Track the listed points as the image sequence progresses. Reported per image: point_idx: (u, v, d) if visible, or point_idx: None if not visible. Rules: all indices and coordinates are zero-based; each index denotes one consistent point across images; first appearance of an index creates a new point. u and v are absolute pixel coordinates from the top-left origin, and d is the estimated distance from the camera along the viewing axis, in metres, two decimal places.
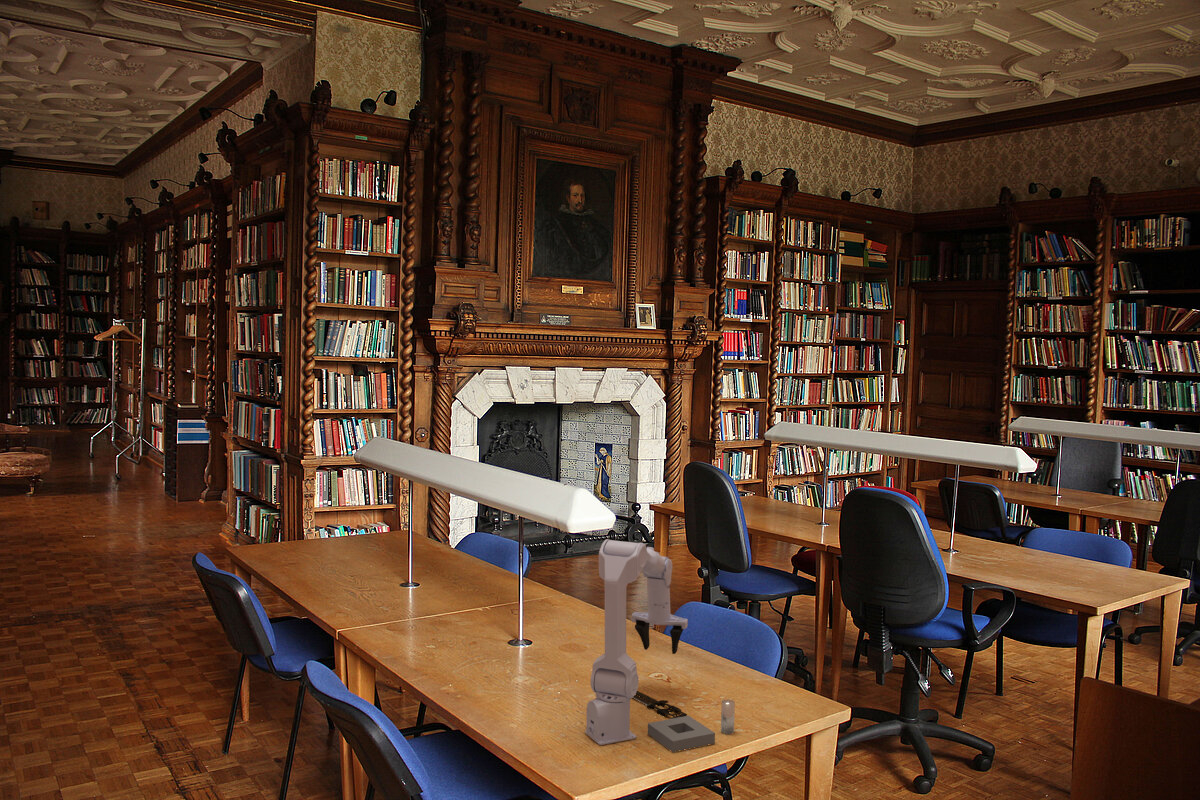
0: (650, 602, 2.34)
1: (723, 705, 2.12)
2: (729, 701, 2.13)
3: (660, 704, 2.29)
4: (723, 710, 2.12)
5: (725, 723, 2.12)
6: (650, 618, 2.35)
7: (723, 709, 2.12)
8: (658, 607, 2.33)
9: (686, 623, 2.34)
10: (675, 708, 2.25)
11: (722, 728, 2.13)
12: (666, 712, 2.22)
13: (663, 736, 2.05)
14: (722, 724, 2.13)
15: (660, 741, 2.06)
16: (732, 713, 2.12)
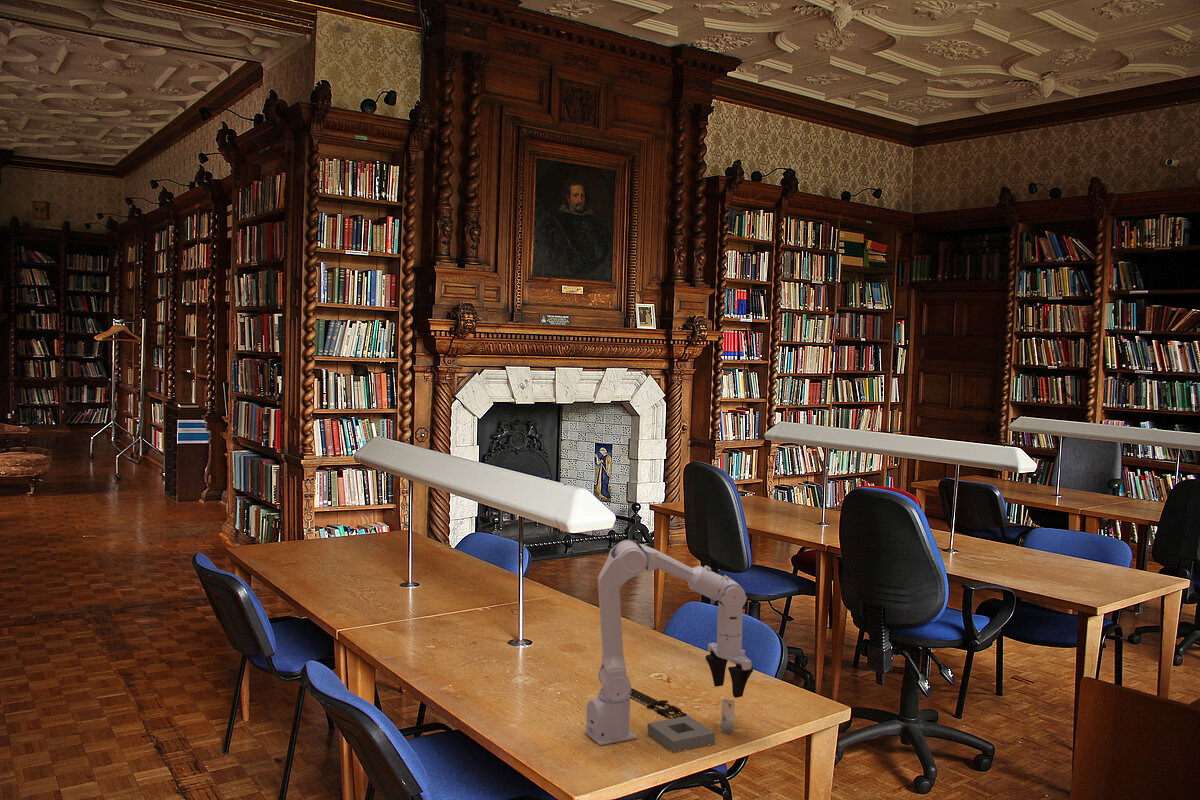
0: None
1: (723, 705, 2.12)
2: (729, 701, 2.13)
3: (660, 704, 2.29)
4: (723, 710, 2.12)
5: (725, 723, 2.12)
6: (716, 649, 2.13)
7: (723, 709, 2.12)
8: (721, 637, 2.11)
9: (747, 664, 2.06)
10: (675, 708, 2.25)
11: (722, 728, 2.13)
12: (666, 712, 2.22)
13: (663, 736, 2.05)
14: (722, 724, 2.13)
15: (660, 741, 2.06)
16: (732, 713, 2.12)
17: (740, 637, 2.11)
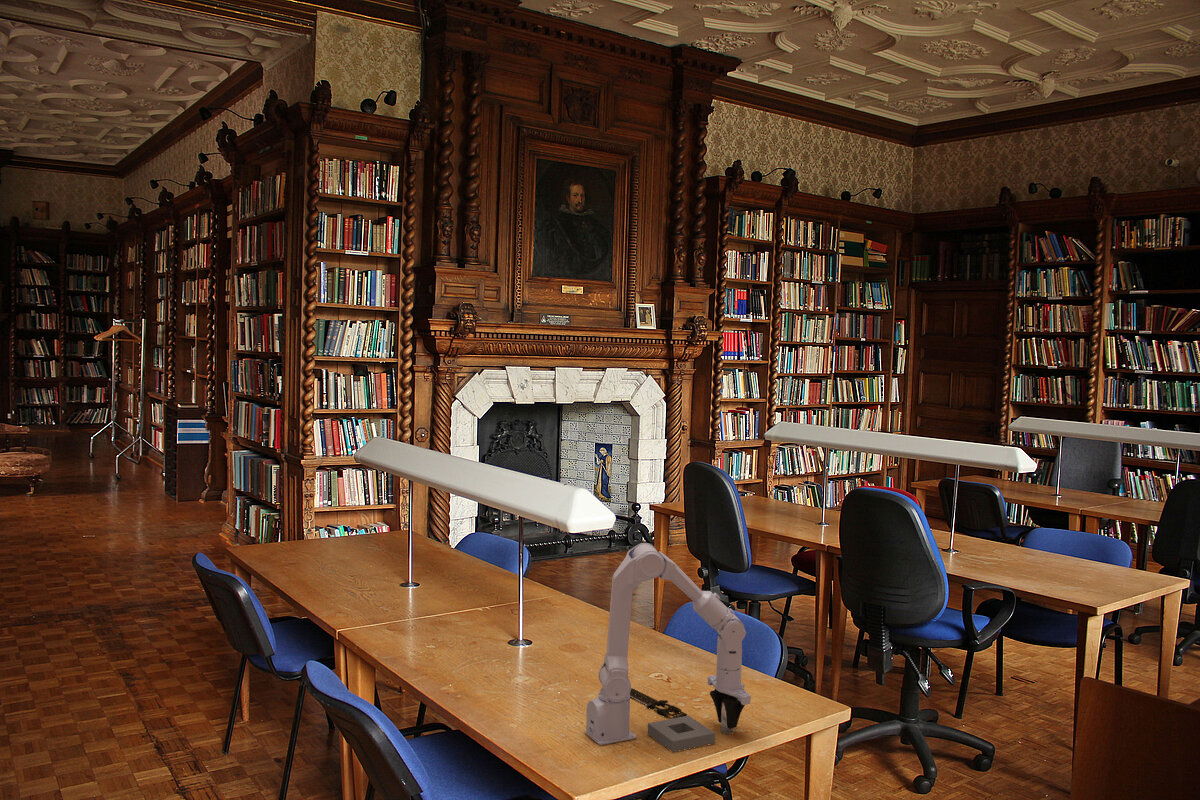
0: None
1: (723, 705, 2.12)
2: None
3: (660, 704, 2.29)
4: (723, 710, 2.12)
5: (725, 723, 2.12)
6: (716, 683, 2.13)
7: (723, 709, 2.12)
8: (721, 671, 2.11)
9: (746, 699, 2.06)
10: (675, 708, 2.25)
11: (722, 728, 2.13)
12: (666, 712, 2.22)
13: (663, 736, 2.05)
14: (722, 724, 2.13)
15: (660, 741, 2.06)
16: None
17: (739, 671, 2.11)
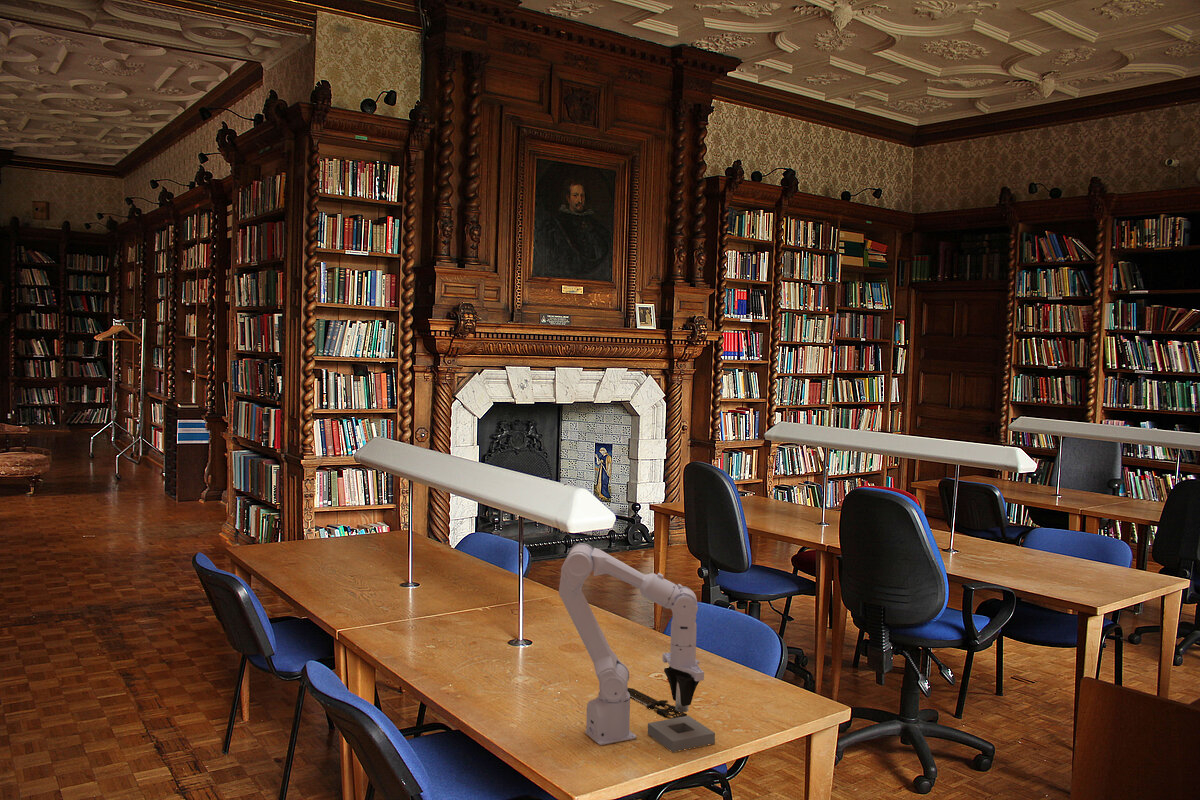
0: None
1: None
2: None
3: (660, 704, 2.29)
4: (678, 687, 2.08)
5: (680, 700, 2.07)
6: (670, 659, 2.09)
7: (678, 686, 2.08)
8: (674, 647, 2.06)
9: (700, 675, 2.02)
10: None
11: (676, 706, 2.08)
12: (666, 712, 2.22)
13: (663, 736, 2.05)
14: (676, 702, 2.08)
15: (660, 741, 2.06)
16: None
17: (694, 647, 2.06)
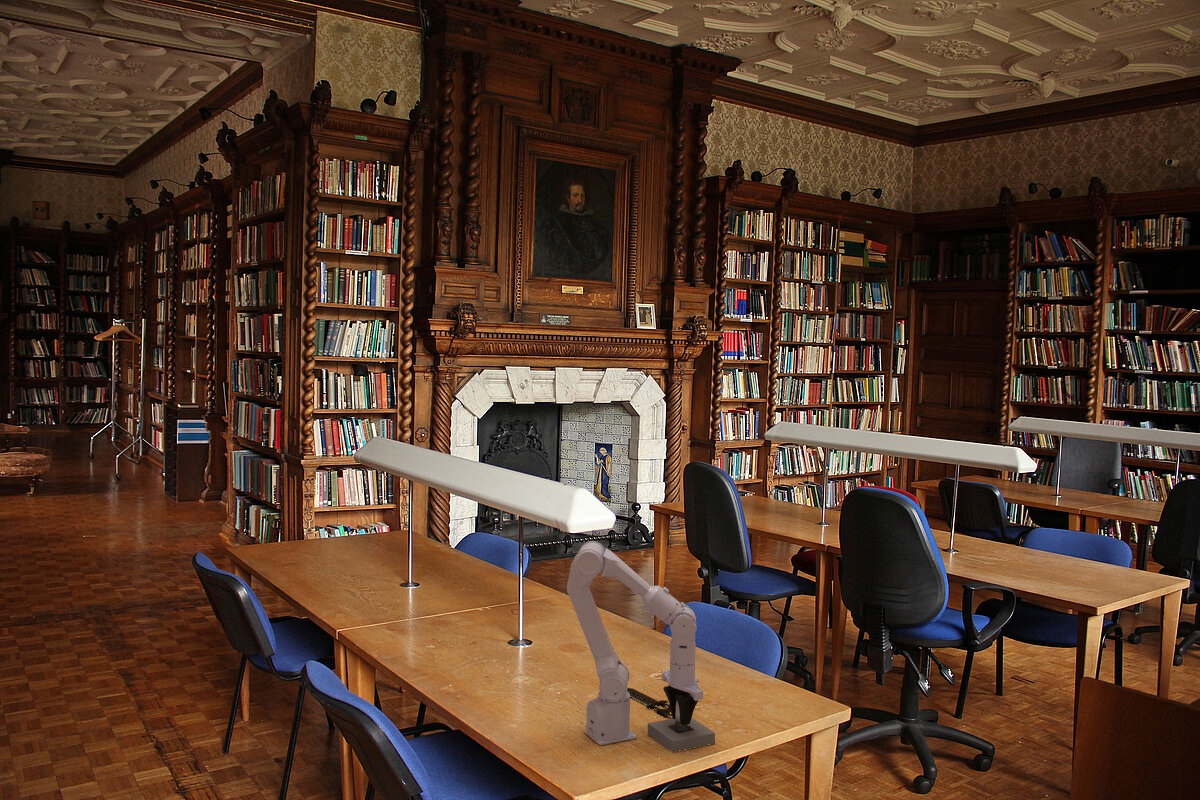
0: None
1: None
2: None
3: (660, 704, 2.29)
4: (677, 706, 2.08)
5: (679, 719, 2.07)
6: (669, 678, 2.09)
7: (677, 705, 2.08)
8: (674, 666, 2.06)
9: (699, 695, 2.02)
10: None
11: (676, 724, 2.08)
12: (666, 712, 2.22)
13: (663, 736, 2.05)
14: (676, 720, 2.08)
15: (660, 741, 2.06)
16: None
17: (693, 666, 2.06)
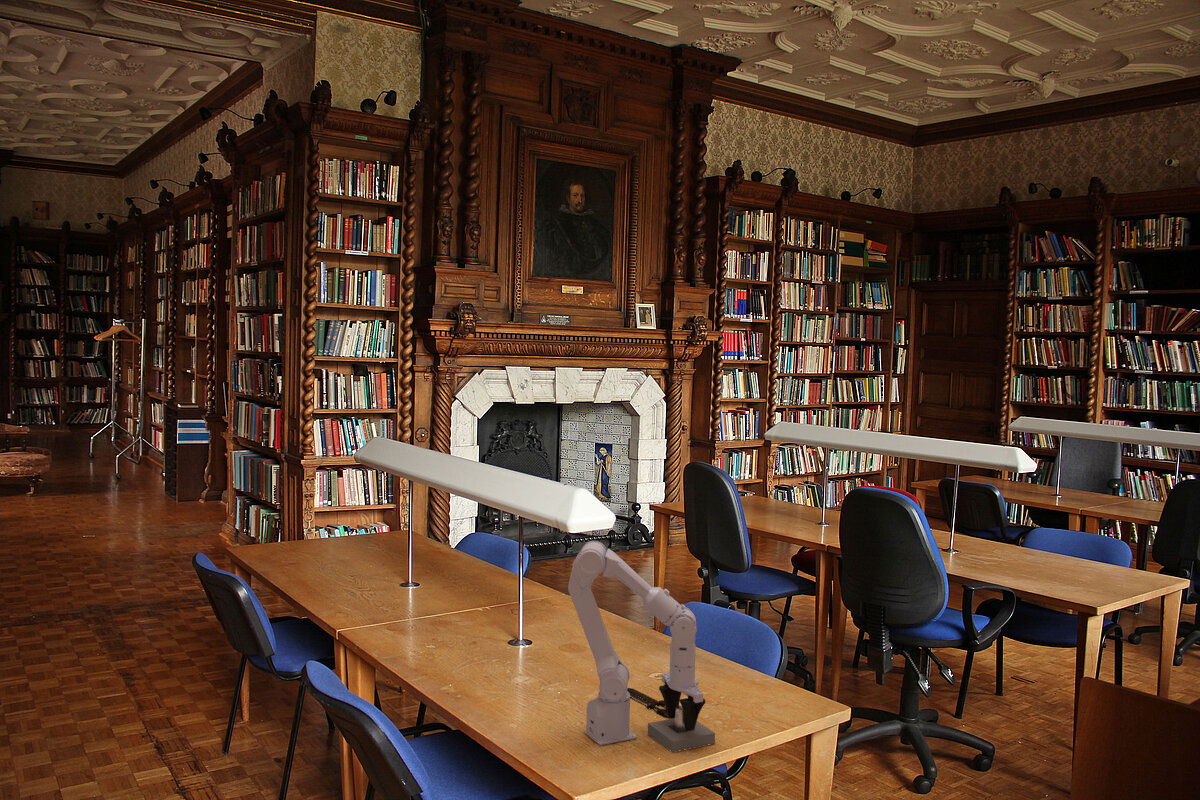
0: None
1: (677, 711, 2.08)
2: None
3: (660, 704, 2.29)
4: (677, 716, 2.08)
5: (679, 729, 2.08)
6: (669, 680, 2.09)
7: (677, 715, 2.08)
8: (674, 669, 2.06)
9: (699, 697, 2.02)
10: None
11: None
12: (666, 712, 2.22)
13: (663, 736, 2.05)
14: (676, 731, 2.08)
15: (660, 741, 2.06)
16: None
17: (693, 668, 2.06)
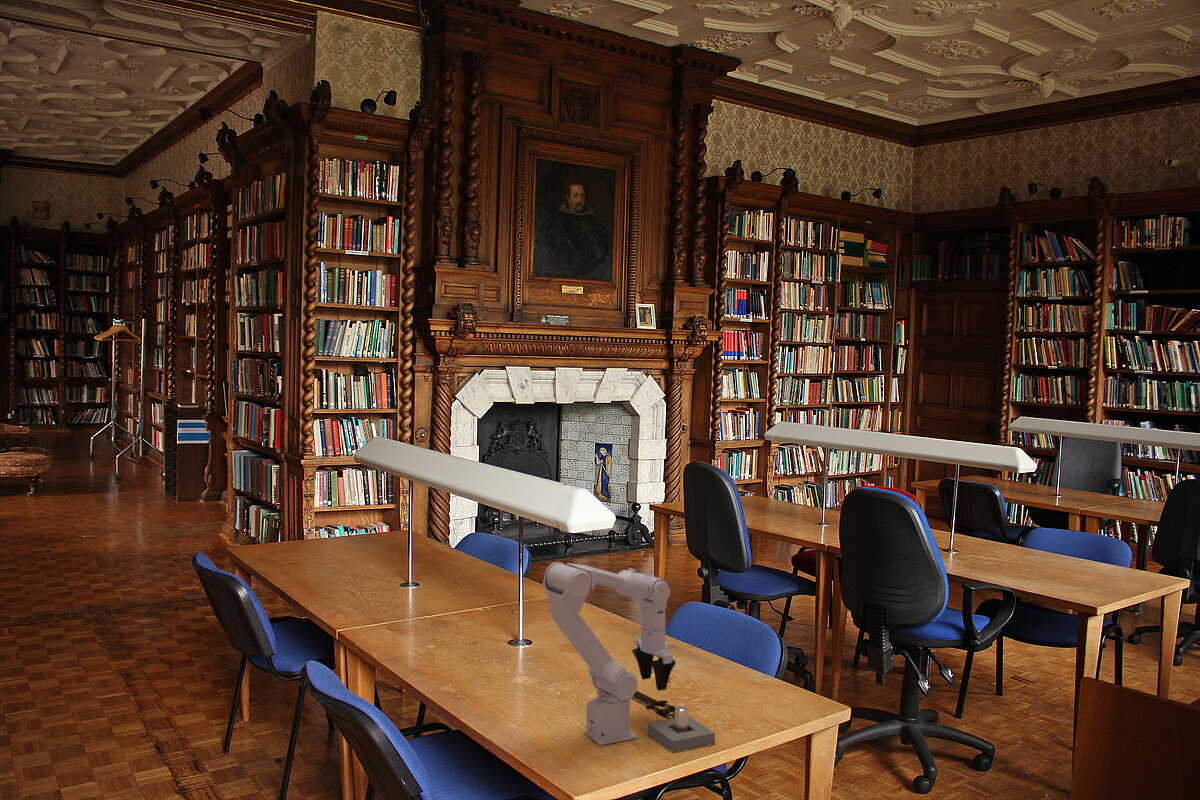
0: (641, 626, 2.16)
1: (676, 712, 2.08)
2: (683, 708, 2.09)
3: (660, 704, 2.28)
4: (676, 717, 2.08)
5: (679, 730, 2.07)
6: (641, 643, 2.17)
7: (676, 716, 2.08)
8: (644, 632, 2.14)
9: (668, 658, 2.10)
10: None
11: None
12: (666, 712, 2.22)
13: (663, 736, 2.05)
14: (675, 731, 2.08)
15: (660, 741, 2.06)
16: (686, 720, 2.08)
17: (662, 631, 2.14)
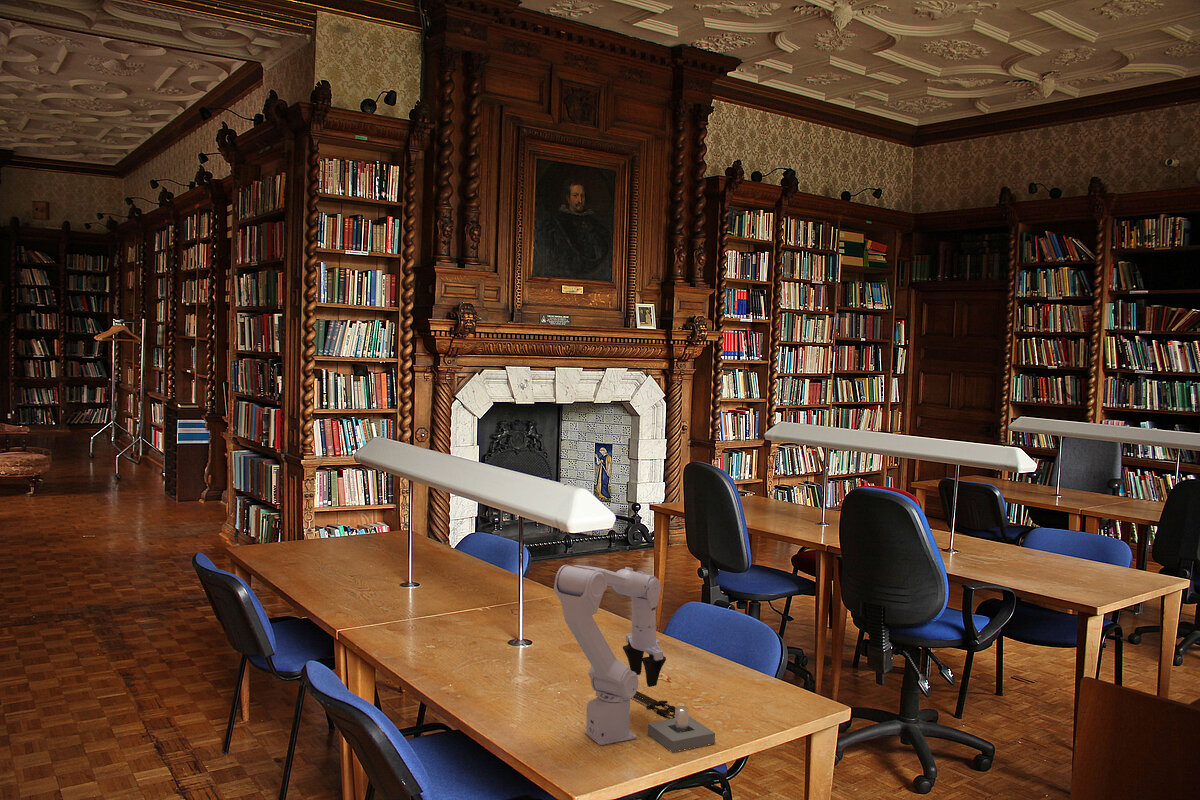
0: (633, 624, 2.17)
1: (676, 712, 2.08)
2: (683, 708, 2.09)
3: (660, 704, 2.28)
4: (676, 717, 2.08)
5: (679, 730, 2.07)
6: (632, 640, 2.19)
7: (676, 716, 2.08)
8: (635, 629, 2.16)
9: (659, 655, 2.12)
10: None
11: None
12: (666, 712, 2.22)
13: (663, 736, 2.05)
14: (675, 731, 2.08)
15: (660, 741, 2.06)
16: (686, 720, 2.08)
17: (653, 628, 2.17)
